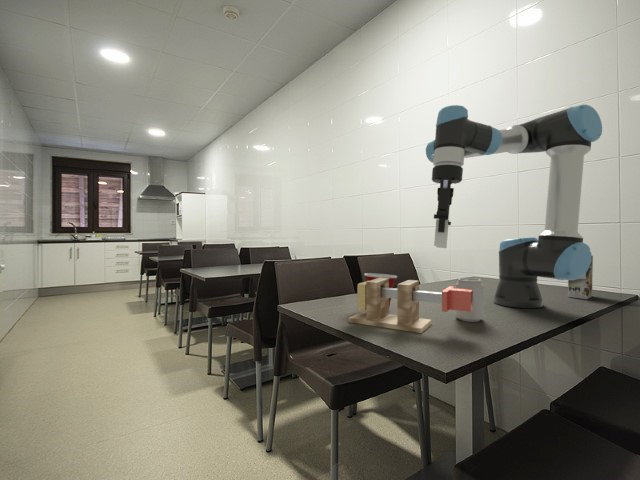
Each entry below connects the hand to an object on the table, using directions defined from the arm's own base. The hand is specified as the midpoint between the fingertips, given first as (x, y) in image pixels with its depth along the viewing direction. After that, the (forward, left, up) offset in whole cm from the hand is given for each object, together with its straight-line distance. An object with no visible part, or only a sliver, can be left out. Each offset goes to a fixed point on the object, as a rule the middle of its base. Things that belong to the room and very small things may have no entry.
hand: (440, 247), depth 90 cm
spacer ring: (+21, +1, -15) cm, 25 cm away
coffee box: (-36, -73, -22) cm, 84 cm away
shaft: (+8, +1, -16) cm, 18 cm away
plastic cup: (+22, -13, -22) cm, 34 cm away
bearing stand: (+13, +1, -22) cm, 26 cm away
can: (-5, -15, -22) cm, 27 cm away
